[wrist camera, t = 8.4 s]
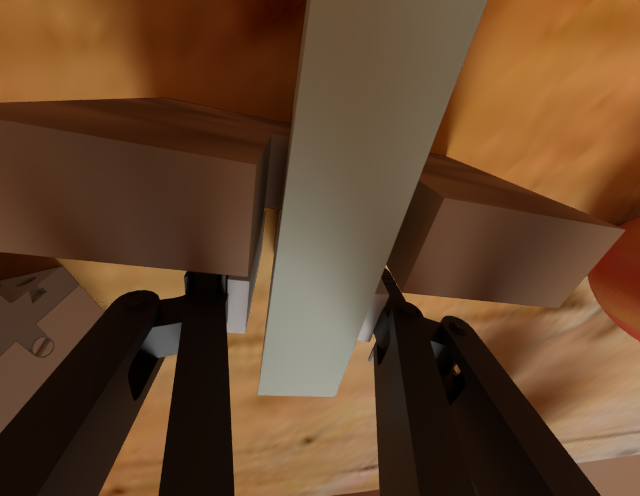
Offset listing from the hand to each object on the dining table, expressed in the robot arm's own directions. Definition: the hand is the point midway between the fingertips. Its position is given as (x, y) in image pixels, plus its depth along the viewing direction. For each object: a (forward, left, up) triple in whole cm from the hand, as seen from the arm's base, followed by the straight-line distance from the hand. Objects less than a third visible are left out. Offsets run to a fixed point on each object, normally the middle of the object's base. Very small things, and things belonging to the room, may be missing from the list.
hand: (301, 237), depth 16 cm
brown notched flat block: (-1, +4, -2) cm, 5 cm away
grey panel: (-2, +4, -2) cm, 5 cm away
